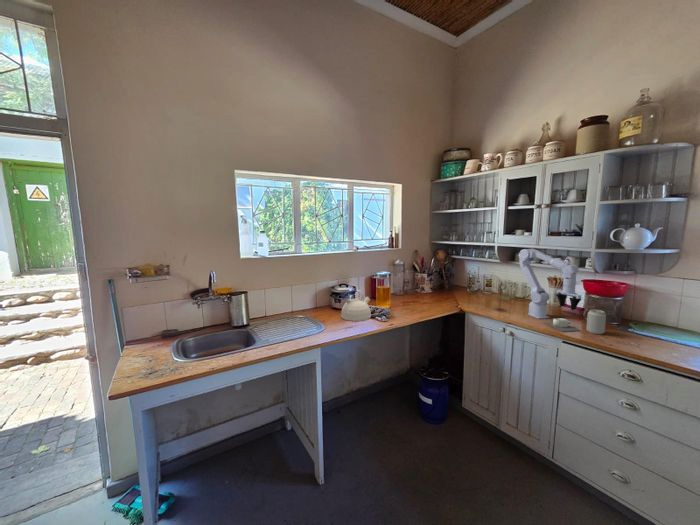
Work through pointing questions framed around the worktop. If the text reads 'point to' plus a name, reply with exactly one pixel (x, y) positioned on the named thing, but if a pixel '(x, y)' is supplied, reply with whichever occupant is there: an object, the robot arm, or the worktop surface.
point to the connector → (560, 322)
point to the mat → (563, 329)
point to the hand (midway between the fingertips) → (567, 307)
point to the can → (596, 321)
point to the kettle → (356, 308)
